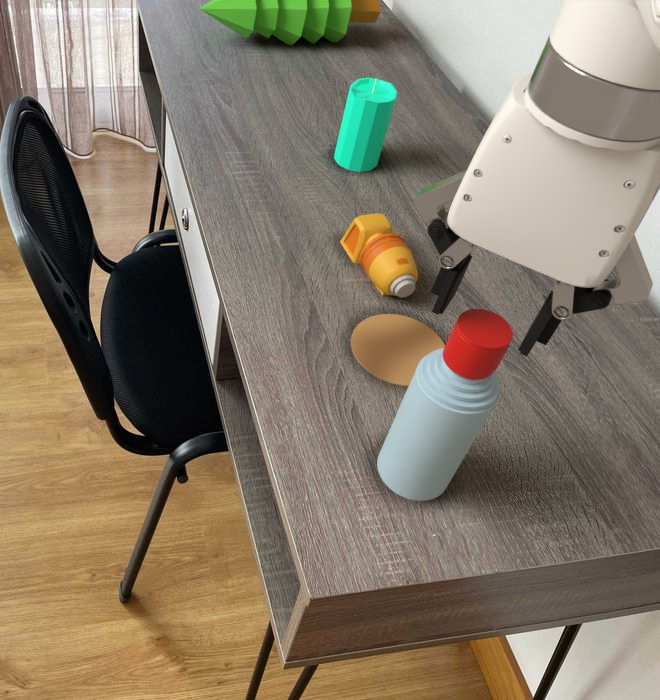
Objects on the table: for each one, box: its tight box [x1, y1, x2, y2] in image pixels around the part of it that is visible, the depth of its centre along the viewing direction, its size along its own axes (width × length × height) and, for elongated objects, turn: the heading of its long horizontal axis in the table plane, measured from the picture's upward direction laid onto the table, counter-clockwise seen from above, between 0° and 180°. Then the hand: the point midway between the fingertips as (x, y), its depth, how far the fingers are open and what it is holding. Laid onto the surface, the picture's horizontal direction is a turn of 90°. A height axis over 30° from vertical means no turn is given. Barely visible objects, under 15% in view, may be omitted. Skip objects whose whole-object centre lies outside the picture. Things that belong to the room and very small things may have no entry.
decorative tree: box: [198, 0, 381, 46], centre depth 118 cm, size 11×12×30 cm
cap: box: [443, 308, 514, 380], centre depth 54 cm, size 4×4×4 cm
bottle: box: [376, 348, 501, 502], centre depth 59 cm, size 6×6×18 cm
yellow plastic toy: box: [339, 212, 419, 298], centre depth 82 cm, size 5×6×12 cm
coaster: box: [350, 313, 446, 388], centre depth 76 cm, size 10×10×1 cm
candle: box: [333, 77, 398, 173], centre depth 95 cm, size 6×6×12 cm
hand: (485, 320), depth 52 cm, fingers open, 5 cm apart
